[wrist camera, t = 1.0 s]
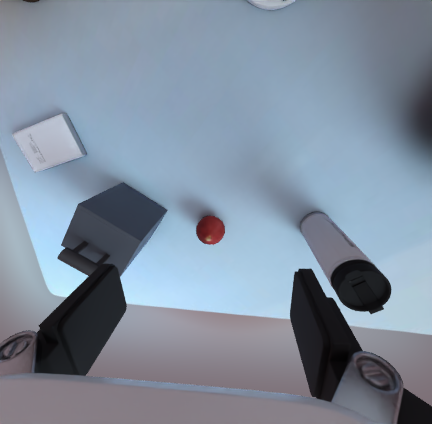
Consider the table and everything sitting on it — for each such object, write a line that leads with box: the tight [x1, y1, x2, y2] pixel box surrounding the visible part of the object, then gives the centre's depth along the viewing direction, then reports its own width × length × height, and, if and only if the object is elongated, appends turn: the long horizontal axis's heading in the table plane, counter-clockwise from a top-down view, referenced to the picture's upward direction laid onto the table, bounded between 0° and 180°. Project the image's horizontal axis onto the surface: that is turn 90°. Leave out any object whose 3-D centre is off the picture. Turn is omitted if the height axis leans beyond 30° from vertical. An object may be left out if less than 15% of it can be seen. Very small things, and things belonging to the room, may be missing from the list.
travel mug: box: [300, 212, 391, 314], centre depth 36 cm, size 6×7×20 cm
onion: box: [196, 216, 225, 244], centre depth 44 cm, size 6×6×8 cm
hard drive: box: [12, 113, 87, 172], centre depth 44 cm, size 2×8×12 cm
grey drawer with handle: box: [58, 183, 167, 276], centre depth 39 cm, size 19×11×9 cm
